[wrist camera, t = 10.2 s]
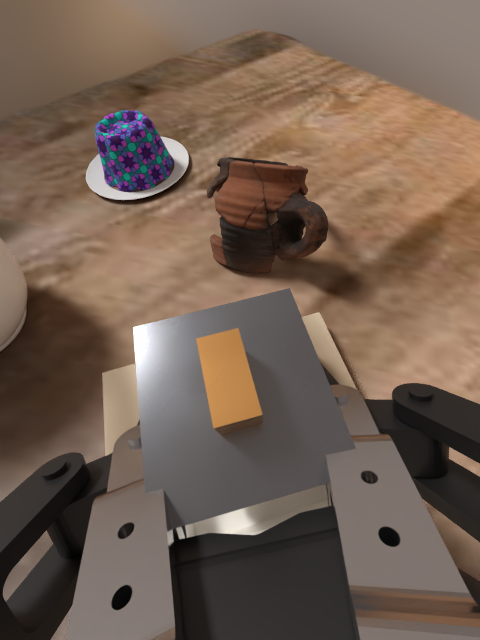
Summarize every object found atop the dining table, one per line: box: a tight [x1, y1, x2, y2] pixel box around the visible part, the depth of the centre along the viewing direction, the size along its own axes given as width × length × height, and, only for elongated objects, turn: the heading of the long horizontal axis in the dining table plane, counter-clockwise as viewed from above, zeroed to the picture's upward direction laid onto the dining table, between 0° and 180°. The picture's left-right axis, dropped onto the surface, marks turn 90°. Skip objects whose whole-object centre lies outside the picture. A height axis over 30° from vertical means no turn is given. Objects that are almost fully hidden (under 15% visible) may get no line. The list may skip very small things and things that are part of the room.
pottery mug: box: [207, 157, 328, 273], centre depth 24 cm, size 12×10×8 cm
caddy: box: [187, 484, 328, 537], centre depth 15 cm, size 10×10×3 cm
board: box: [102, 312, 357, 456], centre depth 13 cm, size 16×30×2 cm, turn 16°
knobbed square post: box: [133, 288, 356, 529], centre depth 10 cm, size 4×5×11 cm
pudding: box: [86, 110, 189, 200], centre depth 31 cm, size 12×12×5 cm
